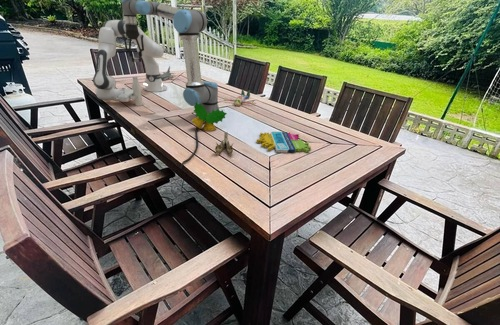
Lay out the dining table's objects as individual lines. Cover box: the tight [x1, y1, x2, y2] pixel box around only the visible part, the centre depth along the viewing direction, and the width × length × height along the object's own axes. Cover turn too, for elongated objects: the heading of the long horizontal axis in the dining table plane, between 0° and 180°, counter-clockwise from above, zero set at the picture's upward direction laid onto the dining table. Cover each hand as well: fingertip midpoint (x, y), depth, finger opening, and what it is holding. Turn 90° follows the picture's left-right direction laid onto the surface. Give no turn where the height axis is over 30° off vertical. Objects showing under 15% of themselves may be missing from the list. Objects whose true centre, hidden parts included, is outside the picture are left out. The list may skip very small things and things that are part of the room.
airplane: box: [160, 65, 176, 81], centre depth 271 cm, size 38×32×10 cm
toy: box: [223, 89, 257, 106], centre depth 219 cm, size 28×7×30 cm
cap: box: [132, 57, 141, 63], centre depth 183 cm, size 4×4×2 cm
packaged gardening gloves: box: [256, 131, 312, 154], centre depth 152 cm, size 26×2×30 cm
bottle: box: [131, 75, 144, 107], centre depth 192 cm, size 6×6×20 cm
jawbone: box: [214, 131, 234, 156], centre depth 136 cm, size 9×15×10 cm
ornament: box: [191, 102, 228, 132], centre depth 162 cm, size 21×8×15 cm, turn 105°
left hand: (138, 96), depth 194 cm, fingers closed on bottle, 5 cm apart
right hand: (136, 61), depth 183 cm, fingers closed on cap, 4 cm apart
